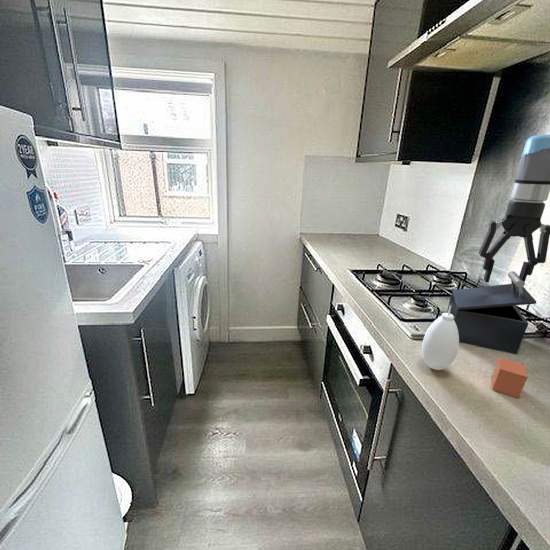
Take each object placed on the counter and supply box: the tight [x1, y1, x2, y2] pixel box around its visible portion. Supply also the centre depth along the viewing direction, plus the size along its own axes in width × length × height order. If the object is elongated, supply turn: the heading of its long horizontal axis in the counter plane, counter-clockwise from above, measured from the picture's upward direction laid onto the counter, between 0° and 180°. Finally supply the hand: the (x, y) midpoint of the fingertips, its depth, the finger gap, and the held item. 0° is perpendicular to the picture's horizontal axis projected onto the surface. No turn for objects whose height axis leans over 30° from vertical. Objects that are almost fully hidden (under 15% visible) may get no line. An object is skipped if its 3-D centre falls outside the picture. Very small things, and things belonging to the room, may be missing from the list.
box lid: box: [451, 270, 537, 310], centre depth 88 cm, size 18×14×6 cm
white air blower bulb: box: [421, 305, 460, 371], centre depth 74 cm, size 8×8×18 cm
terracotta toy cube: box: [490, 357, 528, 399], centre depth 70 cm, size 5×5×6 cm
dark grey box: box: [446, 292, 529, 355], centre depth 91 cm, size 17×14×10 cm
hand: (502, 282), depth 86 cm, fingers open, 7 cm apart
